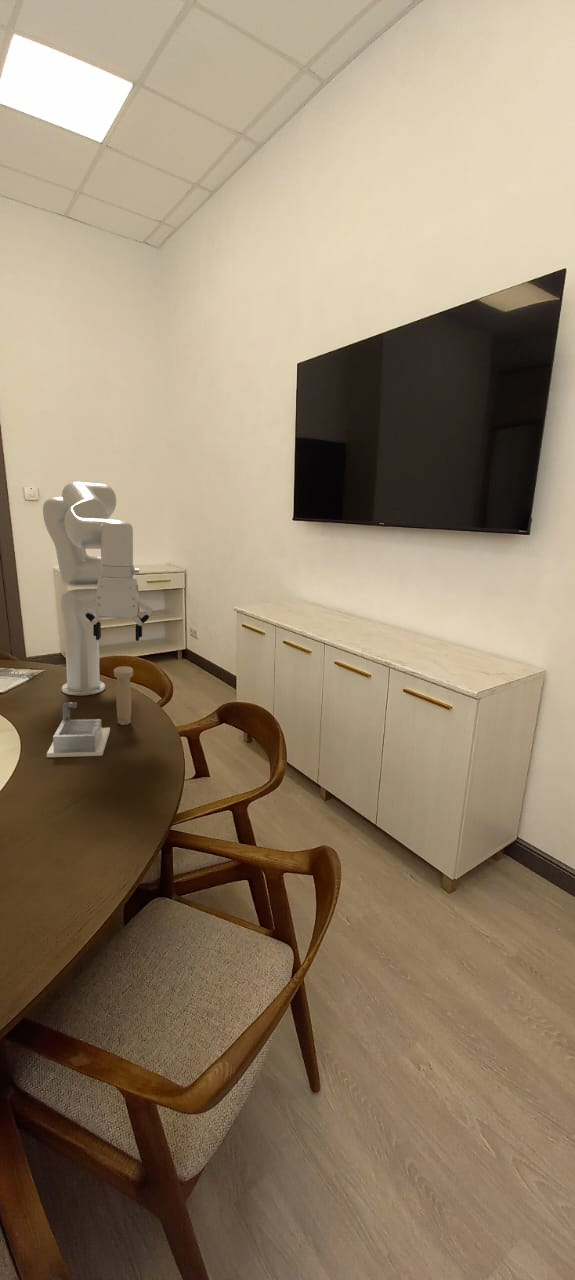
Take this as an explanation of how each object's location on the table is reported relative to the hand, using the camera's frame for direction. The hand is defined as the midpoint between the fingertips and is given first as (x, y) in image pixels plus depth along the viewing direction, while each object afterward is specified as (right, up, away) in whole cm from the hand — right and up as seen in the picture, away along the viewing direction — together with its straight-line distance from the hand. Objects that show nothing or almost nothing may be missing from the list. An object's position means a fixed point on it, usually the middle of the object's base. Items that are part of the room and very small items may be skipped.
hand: (118, 639), depth 132 cm
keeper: (-7, -25, -6) cm, 27 cm away
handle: (-1, -23, +7) cm, 24 cm away
